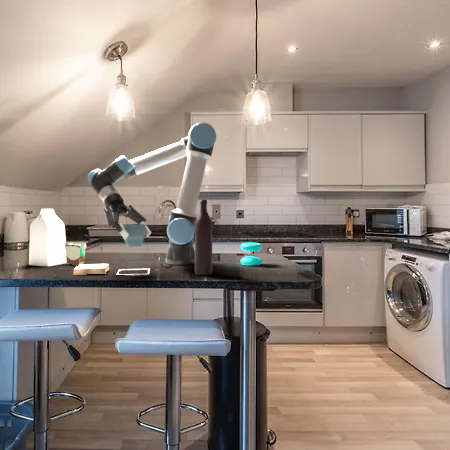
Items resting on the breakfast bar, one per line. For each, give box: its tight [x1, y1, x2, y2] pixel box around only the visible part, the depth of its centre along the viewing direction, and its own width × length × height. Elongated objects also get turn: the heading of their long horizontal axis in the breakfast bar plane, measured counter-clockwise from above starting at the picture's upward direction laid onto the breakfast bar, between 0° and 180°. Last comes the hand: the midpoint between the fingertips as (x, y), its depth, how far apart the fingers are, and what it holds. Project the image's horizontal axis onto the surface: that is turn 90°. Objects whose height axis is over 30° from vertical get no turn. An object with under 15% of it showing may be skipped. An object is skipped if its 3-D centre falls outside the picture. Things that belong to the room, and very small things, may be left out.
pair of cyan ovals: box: [240, 242, 263, 267], centre depth 179 cm, size 10×10×10 cm
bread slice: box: [73, 263, 110, 276], centre depth 158 cm, size 12×12×3 cm
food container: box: [64, 241, 87, 266], centre depth 179 cm, size 12×6×10 cm, turn 58°
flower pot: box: [122, 223, 147, 248], centre depth 157 cm, size 9×9×9 cm
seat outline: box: [115, 268, 151, 276], centre depth 158 cm, size 13×13×1 cm
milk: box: [28, 208, 67, 267], centre depth 179 cm, size 12×12×26 cm
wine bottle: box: [194, 199, 213, 276], centre depth 154 cm, size 7×7×30 cm
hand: (138, 235), depth 155 cm, fingers closed on flower pot, 12 cm apart
